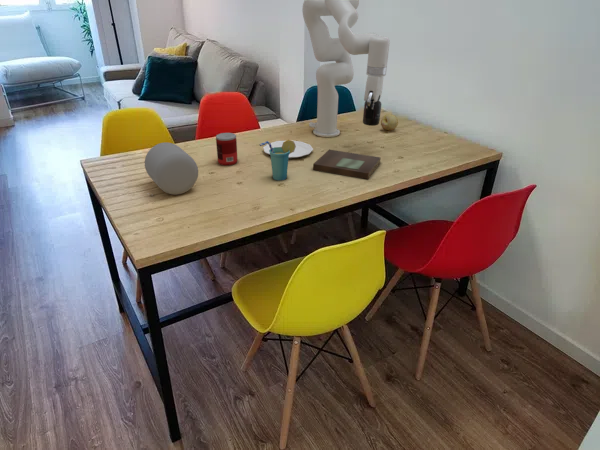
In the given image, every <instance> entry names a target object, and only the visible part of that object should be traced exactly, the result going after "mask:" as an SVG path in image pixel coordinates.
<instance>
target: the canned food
mask: <svg viewBox="0 0 600 450" xmlns="http://www.w3.org/2000/svg"><path fill="white" fill-rule="evenodd" d="M215 143H216V145H215V146H216V155H217V156H216V157H217V162H218V164H219V165H220V166H224V167H225V166H226V167H227V166H233V165H235V164H237V163H238V144H237V143H238V142H237V135H236V133H233V132H221V133H218V134H216V135H215Z"/></svg>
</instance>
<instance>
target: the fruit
mask: <svg viewBox="0 0 600 450" xmlns="http://www.w3.org/2000/svg"><path fill="white" fill-rule="evenodd" d="M398 124H399V119H398V117H397V116H396V115H394V114H393V113H386V114H384V115H383V116H382V118H381V119H380V126H381V128H382V130H384V131H388V132H390V131H393V130H395V129H396V128H397V127H398Z"/></svg>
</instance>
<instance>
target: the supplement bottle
mask: <svg viewBox="0 0 600 450" xmlns="http://www.w3.org/2000/svg"><path fill="white" fill-rule="evenodd" d="M380 99H381V97H380V95H379V98H378V100H377V101H376V102H375V104H374V116H373V119H367V118H365V115H366V106H367V101H364V105H363V113H362V114H363V115H362V124H364V125H366V126H369V127H375V126H376V127H377V126H378V125H380V122H381V113H382V112H381V111H382V102H381V101H380ZM371 101H374V100H371ZM372 104H373V103H372Z"/></svg>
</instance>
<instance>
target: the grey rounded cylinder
mask: <svg viewBox="0 0 600 450" xmlns="http://www.w3.org/2000/svg"><path fill="white" fill-rule="evenodd" d="M144 169H145V171H146V174H147V175H148V176H149V178H150V179H151V180H152V182H153V183H154V184H155V185H157V187H158V188H159V189H160V190H161V191H163V192H164V193H166V194H169V195H175V196H176V195H177V196H178V195H182V194H184V193H186V192H188V191H190V190H192V188H194V186H195V184H196V183H197V181H198V177H199V166H198V164H197V163H196V161H195V159H194V158H193V157H192V156H191V155H189V153H188V152H186V151H185V150H183V149H182V147H180V146H178V145H177V144H174V143H172V142H160V143H157V144H155V145H154V146H152V147H151V148H150V149H149V150H148V152H147V153H146V155H145V158H144ZM146 195H149V193H146ZM153 195H154V194H153V193H151V196H153Z"/></svg>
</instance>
